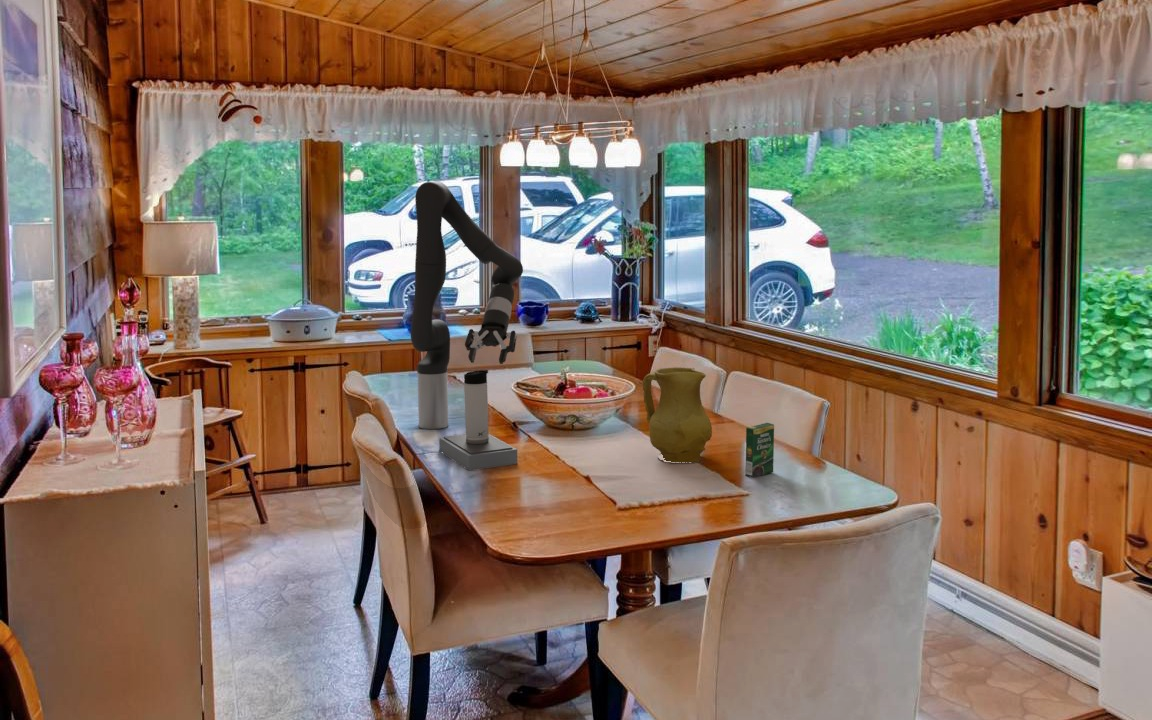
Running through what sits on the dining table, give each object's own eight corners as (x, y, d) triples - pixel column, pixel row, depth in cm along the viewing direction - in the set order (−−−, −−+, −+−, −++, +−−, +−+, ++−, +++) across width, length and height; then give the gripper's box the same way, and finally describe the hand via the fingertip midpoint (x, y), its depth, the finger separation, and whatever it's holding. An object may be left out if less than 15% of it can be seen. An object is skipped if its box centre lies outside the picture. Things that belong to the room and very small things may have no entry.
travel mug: (486, 444, 268) (484, 372, 265) (463, 444, 270) (460, 372, 266) (492, 439, 274) (490, 368, 271) (469, 438, 276) (467, 367, 272)
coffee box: (752, 478, 253) (753, 428, 251) (744, 475, 255) (745, 426, 253) (773, 473, 258) (775, 424, 255) (765, 470, 260) (767, 422, 258)
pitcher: (671, 468, 260) (672, 374, 257) (634, 455, 277) (635, 366, 274) (724, 462, 268) (725, 370, 265) (685, 449, 284) (687, 363, 282)
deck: (439, 451, 279) (439, 436, 278) (485, 445, 285) (484, 430, 285) (469, 470, 260) (468, 454, 259) (517, 463, 266) (517, 447, 266)
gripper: (470, 307, 285) (458, 353, 276) (518, 308, 282) (507, 355, 273) (476, 323, 291) (465, 368, 282) (523, 324, 288) (513, 370, 279)
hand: (486, 361), depth 278 cm, fingers open, 8 cm apart
